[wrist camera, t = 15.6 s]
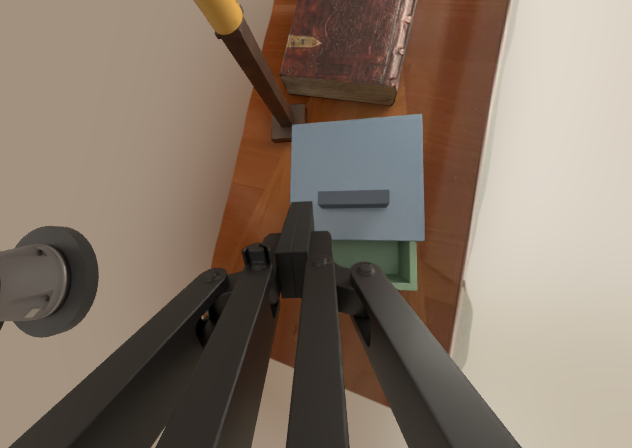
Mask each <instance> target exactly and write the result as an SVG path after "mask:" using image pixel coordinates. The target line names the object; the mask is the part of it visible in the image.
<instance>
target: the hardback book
mask: <svg viewBox="0 0 632 448" xmlns="http://www.w3.org/2000/svg"><path fill="white" fill-rule="evenodd" d="M416 4H417V0H298V1H297V5H296V9H295V13H294V17H293V21H292V25H291V30H290V34H289V38H288V42H287V46H286V50H285V54H284V58H283V62H282V67H281V71H280V77H281V79H282V81H283V83H284V85H285V88H286V90H287V92H288V93H289V94H298V95H306V96H314V97H323V98H331V99H340V100H348V101H357V102H365V103H373V104H382V105H390V106H392V105H393V103H394V102H395V98H396V94H397V89H398V85H399V80H400V76H401V71H402V67H403V62H404V58H405V53H406V49H407V44H408V40H409V35H410V31H411V26H412V22H413V17H414V13H415V8H416Z"/></svg>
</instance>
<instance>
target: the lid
mask: <svg viewBox="0 0 632 448" xmlns="http://www.w3.org/2000/svg"><path fill="white" fill-rule="evenodd" d="M301 201H312V202H313V216H314V230H315V231H328V232H329V233H330V234H331V236H332V240H372V241H425V229H424V182H423V135H422V114H414V115H402V116H391V117H379V118H367V119H355V120H344V121H332V122H320V123H308V124H297V125H292V148H291V187H290V205H291V202H301Z"/></svg>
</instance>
